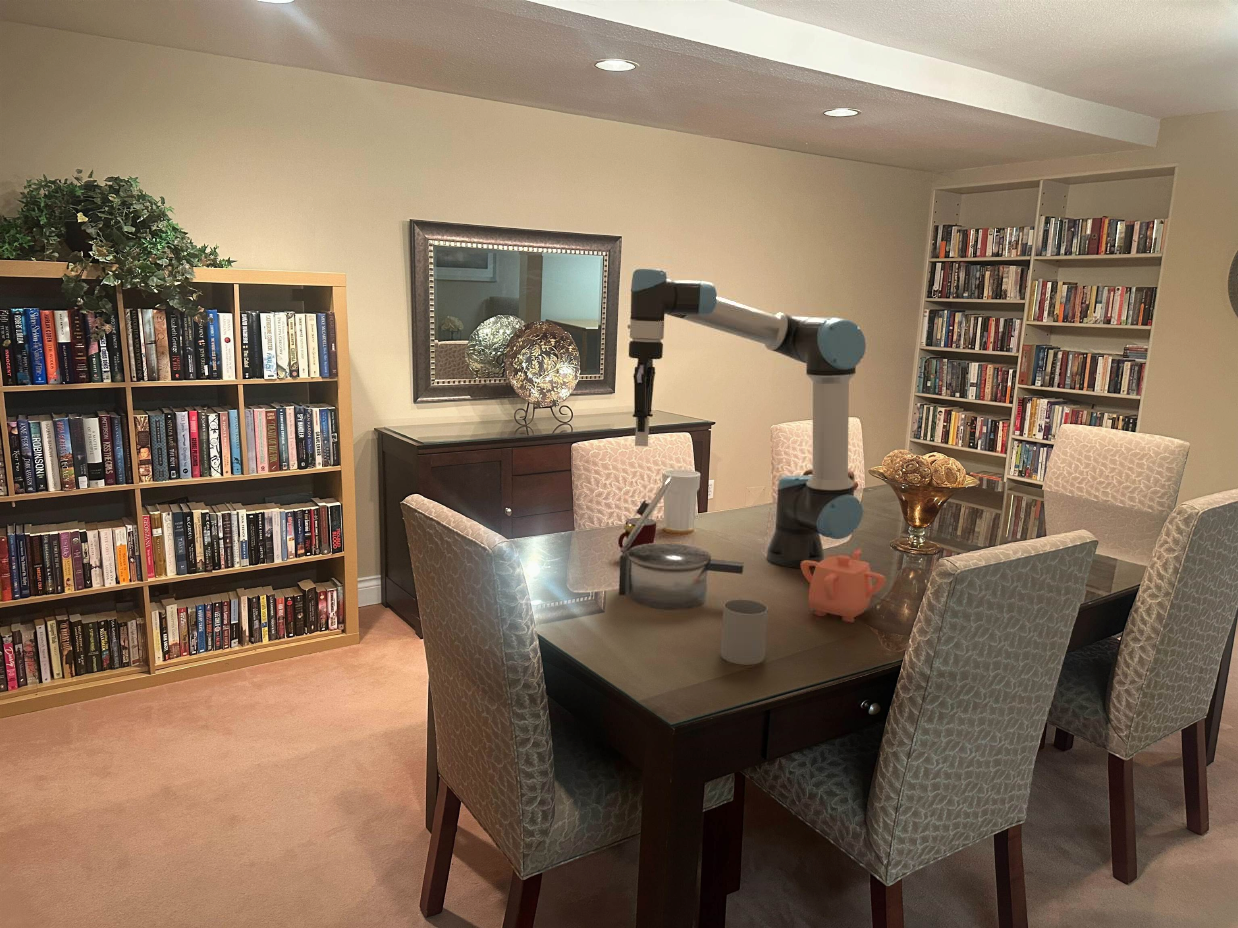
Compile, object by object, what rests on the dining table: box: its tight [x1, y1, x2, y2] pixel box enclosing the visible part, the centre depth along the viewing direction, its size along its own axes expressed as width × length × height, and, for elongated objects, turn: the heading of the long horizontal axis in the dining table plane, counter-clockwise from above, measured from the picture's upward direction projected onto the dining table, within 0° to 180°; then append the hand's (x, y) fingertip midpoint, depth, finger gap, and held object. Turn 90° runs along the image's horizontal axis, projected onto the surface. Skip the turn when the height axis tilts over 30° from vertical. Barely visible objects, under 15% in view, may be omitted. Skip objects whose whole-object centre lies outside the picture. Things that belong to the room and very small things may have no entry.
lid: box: [620, 476, 674, 554], centre depth 200 cm, size 20×19×3 cm
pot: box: [618, 542, 745, 611], centre depth 201 cm, size 28×19×10 cm
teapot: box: [800, 548, 887, 623], centre depth 195 cm, size 17×16×13 cm
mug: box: [617, 517, 657, 551], centre depth 230 cm, size 10×8×10 cm
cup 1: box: [661, 468, 701, 534], centre depth 261 cm, size 11×11×17 cm
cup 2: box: [720, 598, 769, 666], centre depth 169 cm, size 8×8×10 cm
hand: (641, 445), depth 198 cm, fingers closed
